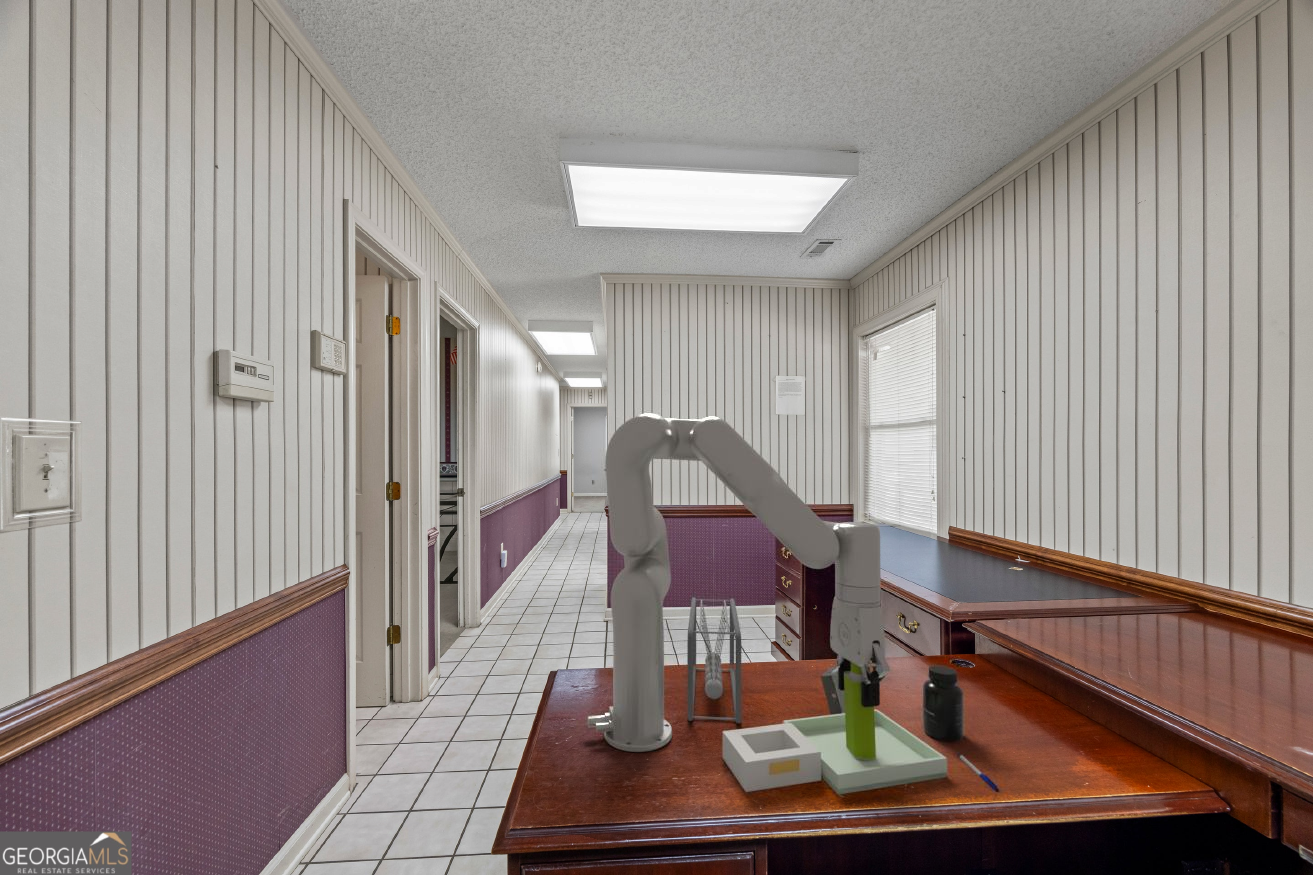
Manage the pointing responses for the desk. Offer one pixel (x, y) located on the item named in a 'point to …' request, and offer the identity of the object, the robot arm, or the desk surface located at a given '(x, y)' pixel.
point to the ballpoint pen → (979, 773)
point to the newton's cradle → (714, 660)
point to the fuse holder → (771, 756)
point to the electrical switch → (833, 691)
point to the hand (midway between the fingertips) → (858, 696)
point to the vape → (858, 717)
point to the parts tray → (893, 765)
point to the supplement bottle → (943, 705)
